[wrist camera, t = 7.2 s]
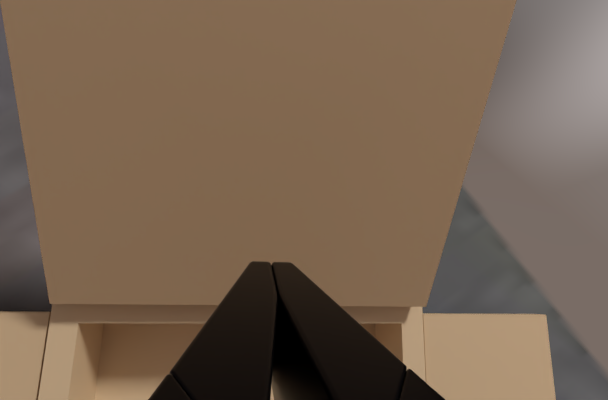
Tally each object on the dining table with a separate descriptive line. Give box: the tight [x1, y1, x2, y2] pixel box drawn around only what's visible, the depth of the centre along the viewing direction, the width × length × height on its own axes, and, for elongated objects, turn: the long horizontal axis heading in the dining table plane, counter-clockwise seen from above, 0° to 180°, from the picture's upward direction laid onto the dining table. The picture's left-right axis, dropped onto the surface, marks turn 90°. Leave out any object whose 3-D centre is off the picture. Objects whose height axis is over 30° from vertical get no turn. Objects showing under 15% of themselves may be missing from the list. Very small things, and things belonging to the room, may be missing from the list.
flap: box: [0, 0, 516, 307], centre depth 11 cm, size 1×12×10 cm
